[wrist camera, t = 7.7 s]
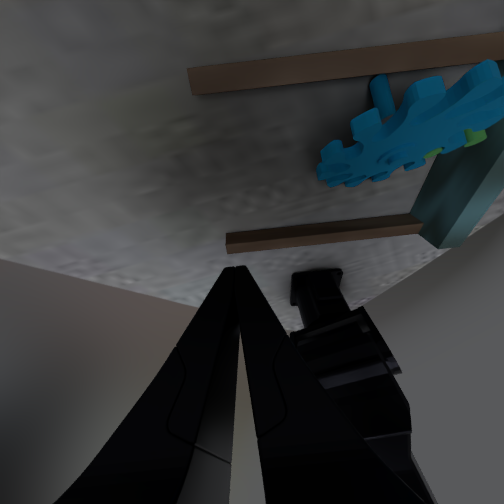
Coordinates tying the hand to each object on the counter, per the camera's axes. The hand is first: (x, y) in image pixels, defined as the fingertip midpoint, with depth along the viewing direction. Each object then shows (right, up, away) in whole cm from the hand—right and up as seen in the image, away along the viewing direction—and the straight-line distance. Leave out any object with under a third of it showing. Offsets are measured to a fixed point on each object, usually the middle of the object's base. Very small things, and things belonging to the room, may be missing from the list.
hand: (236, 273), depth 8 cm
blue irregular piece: (+10, +10, +8) cm, 17 cm away
